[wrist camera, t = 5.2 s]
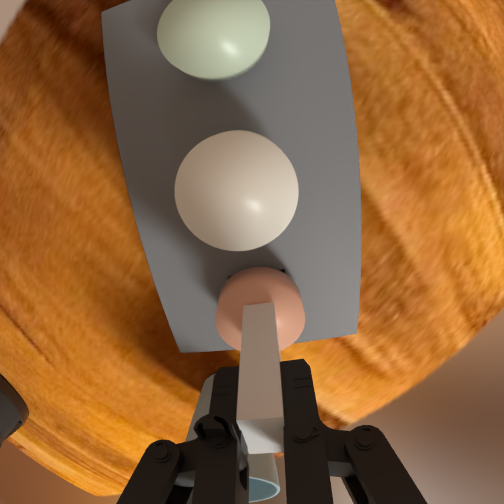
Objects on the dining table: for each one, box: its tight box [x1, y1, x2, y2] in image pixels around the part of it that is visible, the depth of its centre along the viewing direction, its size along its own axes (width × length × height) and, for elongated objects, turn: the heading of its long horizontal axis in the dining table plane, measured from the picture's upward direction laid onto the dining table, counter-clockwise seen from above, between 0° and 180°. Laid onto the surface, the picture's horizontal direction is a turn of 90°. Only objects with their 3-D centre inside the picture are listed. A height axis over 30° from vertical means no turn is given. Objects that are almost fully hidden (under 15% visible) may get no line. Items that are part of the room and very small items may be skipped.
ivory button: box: [175, 130, 299, 251], centre depth 13 cm, size 5×5×4 cm
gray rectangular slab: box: [101, 0, 361, 353], centre depth 16 cm, size 12×22×3 cm, turn 8°
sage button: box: [157, 0, 270, 82], centre depth 11 cm, size 5×5×4 cm
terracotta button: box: [215, 267, 305, 351], centre depth 17 cm, size 5×5×4 cm
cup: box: [185, 373, 280, 502], centre depth 20 cm, size 8×8×10 cm
